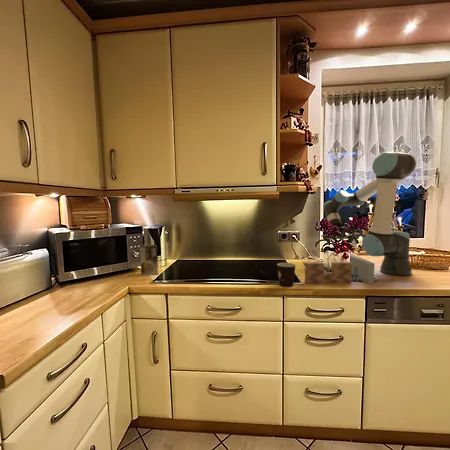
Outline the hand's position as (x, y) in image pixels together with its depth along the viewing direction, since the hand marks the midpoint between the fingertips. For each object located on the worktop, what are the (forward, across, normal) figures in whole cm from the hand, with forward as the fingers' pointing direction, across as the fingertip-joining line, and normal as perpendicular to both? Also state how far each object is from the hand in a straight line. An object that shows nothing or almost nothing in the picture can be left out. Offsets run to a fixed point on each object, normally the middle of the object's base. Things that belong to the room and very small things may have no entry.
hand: (344, 249), depth 168 cm
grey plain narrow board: (+20, 0, +3) cm, 20 cm away
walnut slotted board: (+26, +19, +10) cm, 34 cm away
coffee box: (+10, +112, -6) cm, 113 cm away
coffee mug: (+27, +40, +10) cm, 50 cm away
